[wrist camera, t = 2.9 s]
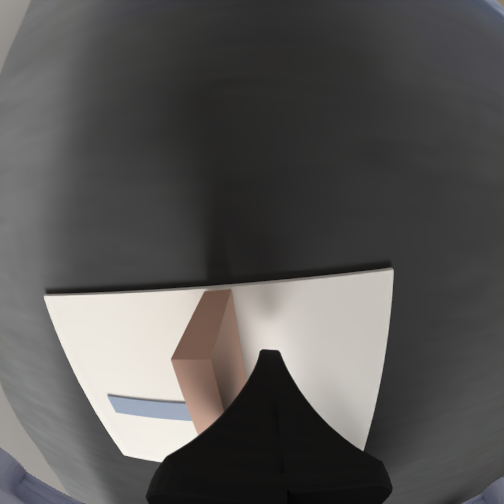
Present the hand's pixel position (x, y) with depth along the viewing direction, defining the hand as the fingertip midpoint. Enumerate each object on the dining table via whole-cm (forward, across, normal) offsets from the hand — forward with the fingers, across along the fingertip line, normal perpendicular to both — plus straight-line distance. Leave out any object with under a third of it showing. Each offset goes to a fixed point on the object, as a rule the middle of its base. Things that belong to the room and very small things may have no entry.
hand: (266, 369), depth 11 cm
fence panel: (+2, +2, +2) cm, 3 cm away
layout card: (+3, +2, +5) cm, 7 cm away
